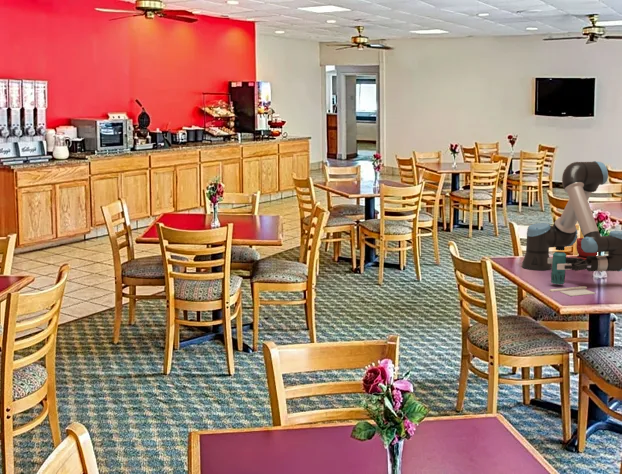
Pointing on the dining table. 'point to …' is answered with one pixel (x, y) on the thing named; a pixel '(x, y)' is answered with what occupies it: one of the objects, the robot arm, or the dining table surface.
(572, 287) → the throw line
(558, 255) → the beverage bottle
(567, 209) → the robot arm
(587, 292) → the mat
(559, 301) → the dining table surface
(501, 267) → the dining table surface
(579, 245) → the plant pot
